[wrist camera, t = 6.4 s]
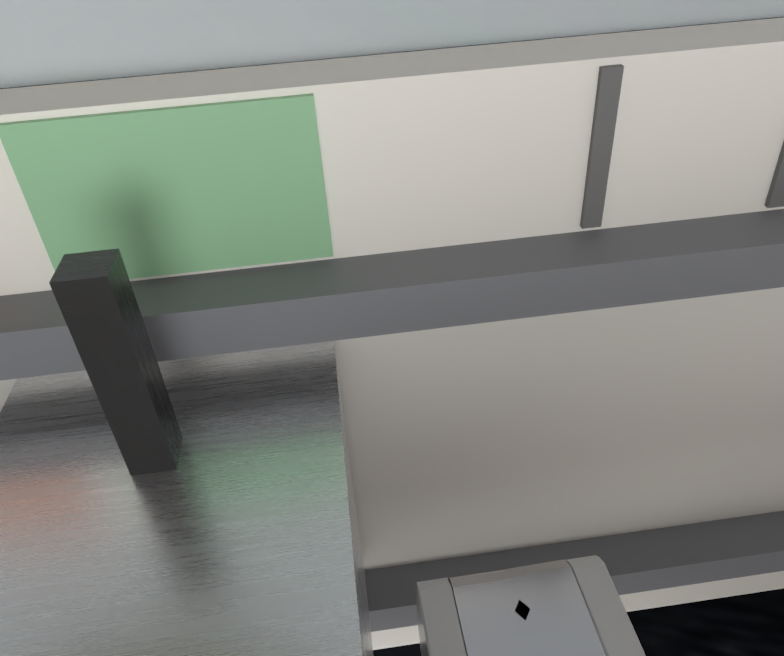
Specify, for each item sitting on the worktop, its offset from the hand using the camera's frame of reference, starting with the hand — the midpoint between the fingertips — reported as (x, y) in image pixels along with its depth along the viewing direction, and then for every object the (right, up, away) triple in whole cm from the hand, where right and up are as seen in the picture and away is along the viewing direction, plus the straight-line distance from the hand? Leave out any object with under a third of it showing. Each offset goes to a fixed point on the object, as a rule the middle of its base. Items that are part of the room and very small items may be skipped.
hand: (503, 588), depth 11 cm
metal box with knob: (-5, +2, +1) cm, 6 cm away
